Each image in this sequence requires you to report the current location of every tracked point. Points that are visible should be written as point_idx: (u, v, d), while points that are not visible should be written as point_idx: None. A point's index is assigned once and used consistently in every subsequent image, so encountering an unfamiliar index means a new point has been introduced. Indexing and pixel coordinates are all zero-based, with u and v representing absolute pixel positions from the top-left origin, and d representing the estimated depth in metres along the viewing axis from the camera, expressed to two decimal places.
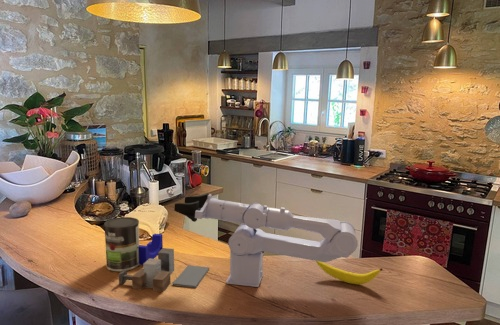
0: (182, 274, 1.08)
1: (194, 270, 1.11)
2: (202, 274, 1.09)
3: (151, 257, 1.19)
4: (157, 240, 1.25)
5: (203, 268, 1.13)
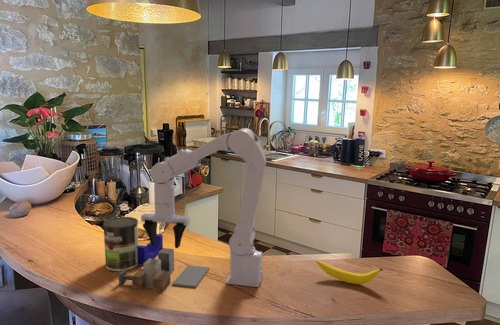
0: (182, 274, 1.08)
1: (194, 270, 1.11)
2: (202, 274, 1.09)
3: (150, 257, 1.19)
4: (157, 240, 1.25)
5: (203, 268, 1.13)
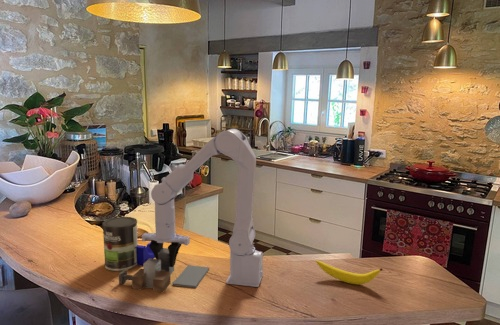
0: (182, 274, 1.08)
1: (194, 270, 1.11)
2: (202, 274, 1.09)
3: (149, 257, 1.19)
4: None
5: (203, 268, 1.13)
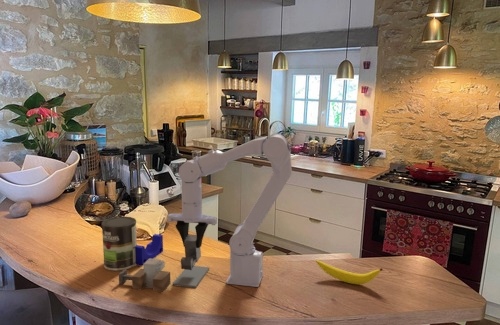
0: (182, 274, 1.08)
1: (194, 270, 1.11)
2: (202, 274, 1.09)
3: (148, 258, 1.18)
4: (157, 241, 1.24)
5: (203, 268, 1.13)
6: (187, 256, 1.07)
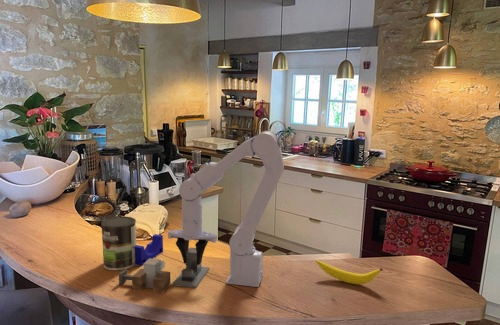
0: None
1: None
2: (202, 274, 1.09)
3: (148, 258, 1.18)
4: (157, 241, 1.24)
5: (203, 268, 1.13)
6: (188, 269, 1.08)
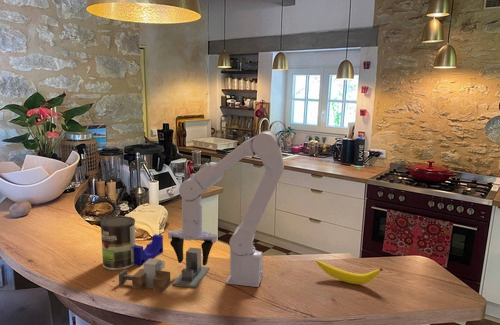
0: None
1: None
2: (202, 274, 1.09)
3: (147, 258, 1.18)
4: (157, 241, 1.24)
5: (203, 268, 1.13)
6: (188, 269, 1.08)
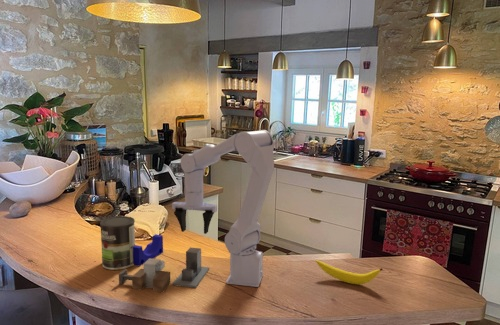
0: None
1: None
2: (202, 274, 1.09)
3: (147, 258, 1.18)
4: (157, 241, 1.24)
5: (203, 268, 1.13)
6: (188, 269, 1.08)
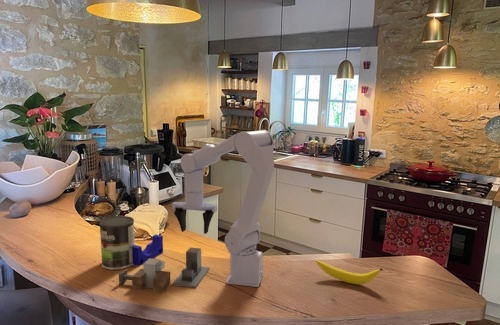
0: None
1: None
2: (202, 274, 1.09)
3: (146, 258, 1.18)
4: (157, 241, 1.24)
5: (203, 268, 1.13)
6: (188, 269, 1.08)
